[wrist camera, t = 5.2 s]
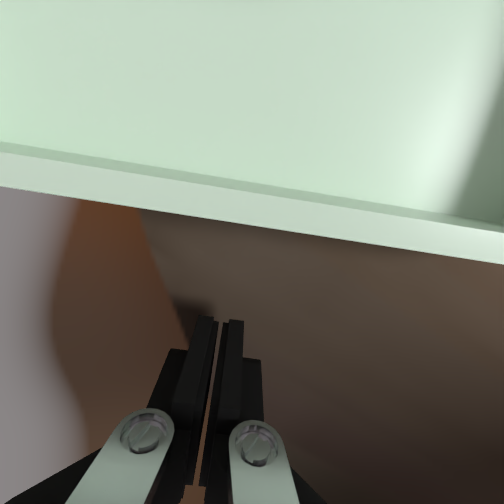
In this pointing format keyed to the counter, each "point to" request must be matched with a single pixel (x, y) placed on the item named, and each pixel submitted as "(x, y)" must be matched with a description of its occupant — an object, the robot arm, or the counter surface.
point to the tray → (266, 113)
